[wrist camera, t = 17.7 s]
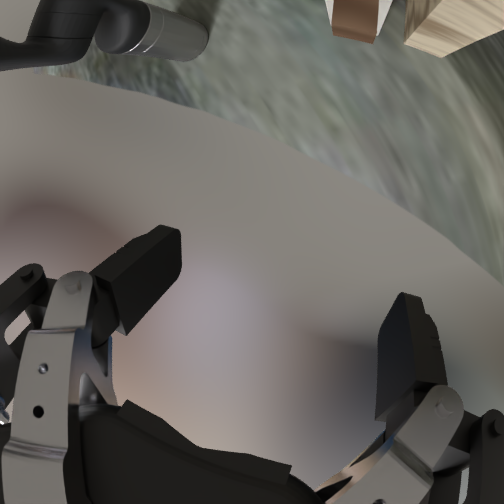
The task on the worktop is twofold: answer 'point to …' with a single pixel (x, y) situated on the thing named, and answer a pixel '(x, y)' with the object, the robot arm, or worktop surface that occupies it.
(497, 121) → the worktop surface
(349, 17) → the walnut bar
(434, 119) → the worktop surface
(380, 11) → the white upright box
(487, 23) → the tall stand
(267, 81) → the worktop surface
